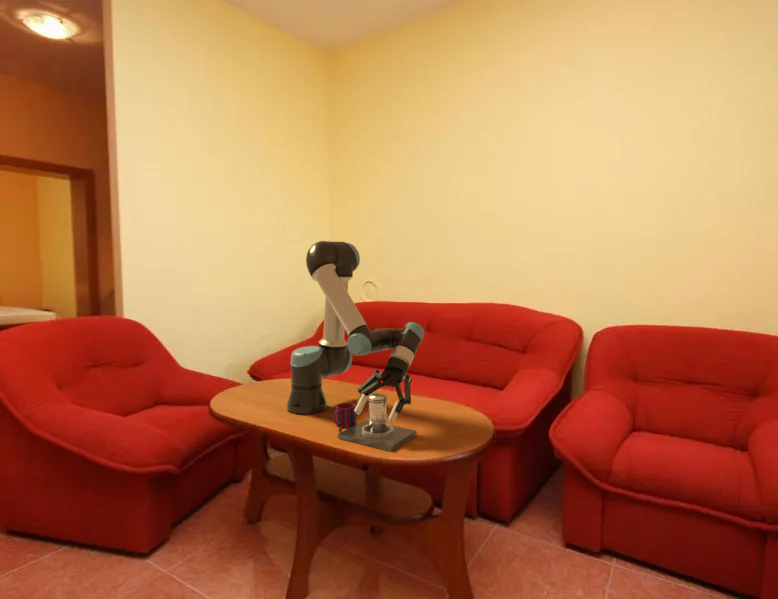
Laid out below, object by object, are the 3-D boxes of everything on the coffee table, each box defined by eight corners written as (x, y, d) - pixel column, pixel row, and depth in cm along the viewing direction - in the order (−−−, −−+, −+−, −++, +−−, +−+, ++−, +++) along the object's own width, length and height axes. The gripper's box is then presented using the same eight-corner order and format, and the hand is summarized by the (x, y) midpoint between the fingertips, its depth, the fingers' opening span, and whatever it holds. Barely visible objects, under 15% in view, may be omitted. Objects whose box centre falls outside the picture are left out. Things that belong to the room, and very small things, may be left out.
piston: (366, 430, 154) (366, 394, 153) (383, 428, 156) (383, 392, 155) (371, 436, 148) (371, 399, 147) (389, 434, 150) (389, 397, 149)
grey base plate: (337, 438, 151) (337, 430, 150) (366, 424, 164) (366, 416, 164) (391, 451, 140) (391, 442, 140) (416, 435, 154) (416, 426, 153)
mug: (359, 424, 164) (359, 404, 164) (339, 432, 156) (339, 412, 156) (345, 420, 168) (345, 401, 168) (325, 427, 161) (325, 408, 160)
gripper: (435, 373, 156) (410, 430, 145) (374, 364, 170) (348, 415, 159) (427, 360, 151) (401, 418, 140) (365, 351, 166) (338, 404, 154)
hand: (373, 417), depth 150 cm, fingers open, 13 cm apart
